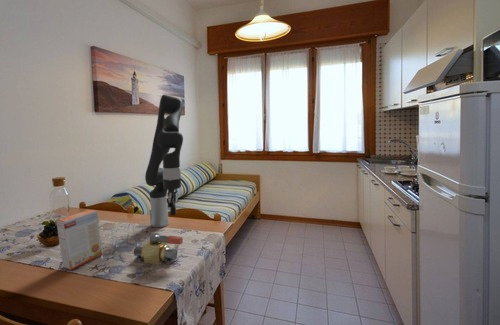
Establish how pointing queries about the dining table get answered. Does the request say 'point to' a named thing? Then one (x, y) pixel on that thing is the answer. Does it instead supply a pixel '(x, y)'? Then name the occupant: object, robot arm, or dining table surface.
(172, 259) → the valve pipe
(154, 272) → the dining table surface
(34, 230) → the dining table surface
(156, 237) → the lever
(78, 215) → the cracker box
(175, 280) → the dining table surface
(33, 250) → the dining table surface
